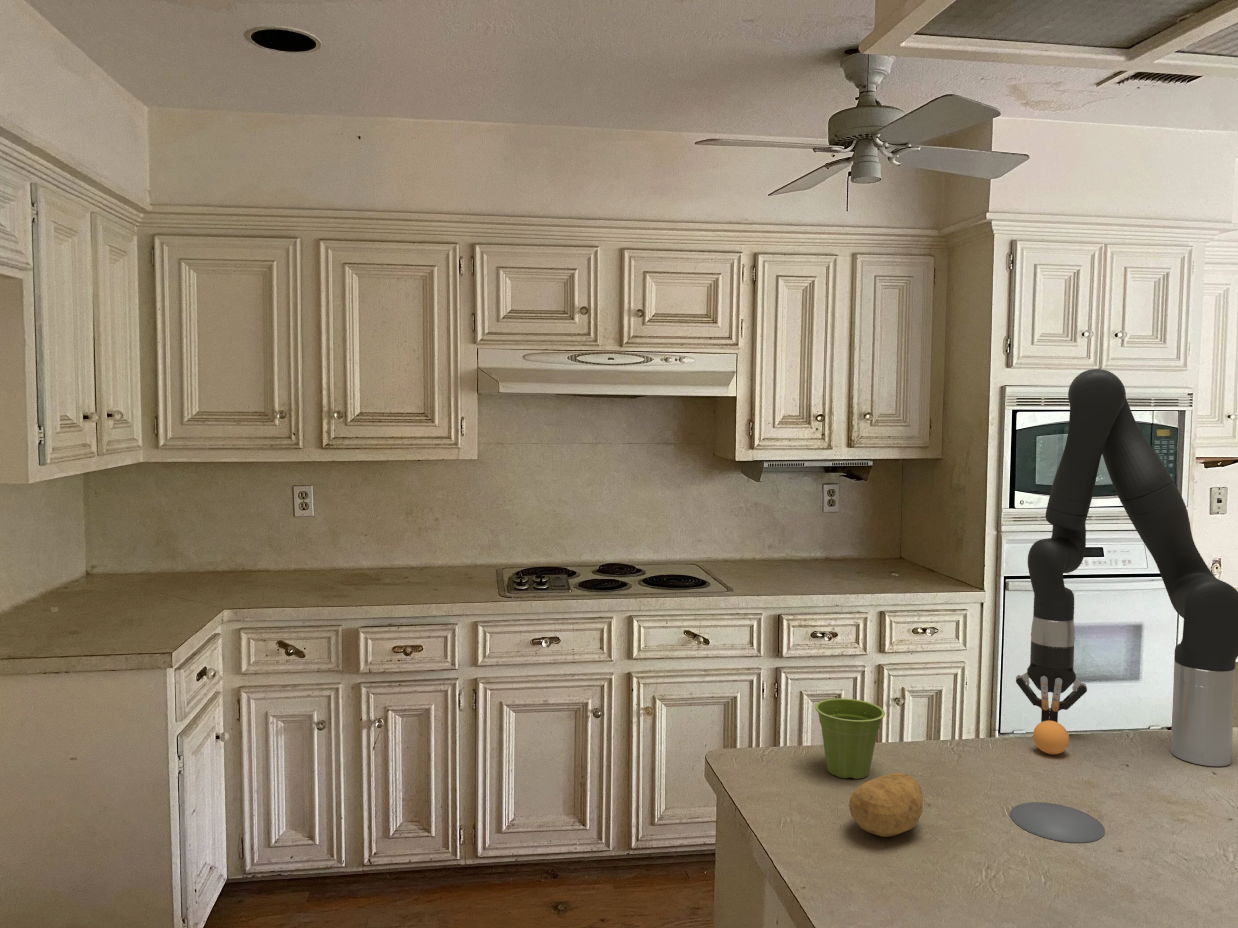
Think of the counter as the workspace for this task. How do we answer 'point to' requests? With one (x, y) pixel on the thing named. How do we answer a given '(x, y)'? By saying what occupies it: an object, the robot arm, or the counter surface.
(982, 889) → the counter surface
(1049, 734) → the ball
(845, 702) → the plant pot
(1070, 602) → the robot arm
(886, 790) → the potato
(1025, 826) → the disc
